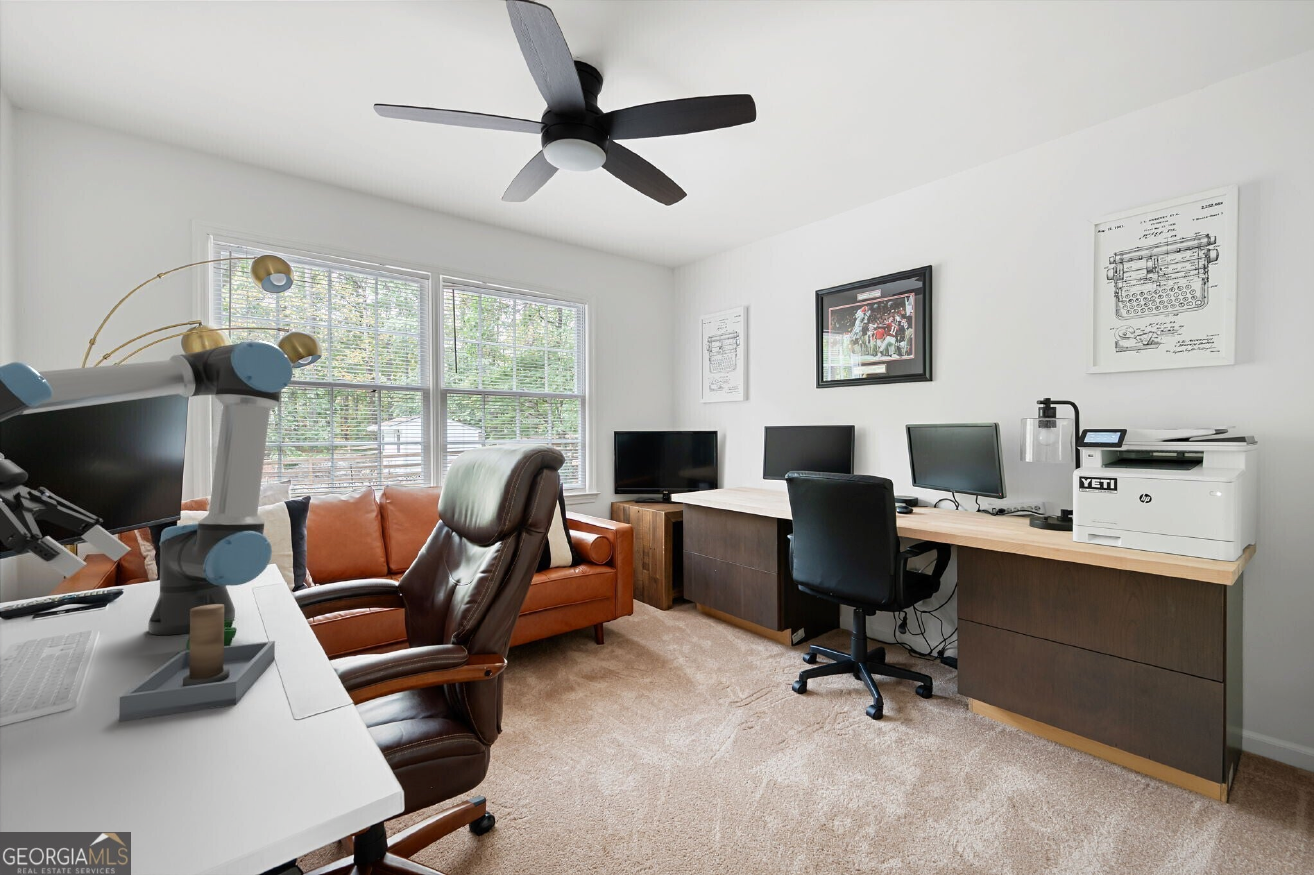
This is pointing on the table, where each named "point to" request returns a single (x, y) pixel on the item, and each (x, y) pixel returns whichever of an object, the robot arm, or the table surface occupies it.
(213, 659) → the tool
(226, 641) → the clamp
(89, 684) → the table surface
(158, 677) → the tray
